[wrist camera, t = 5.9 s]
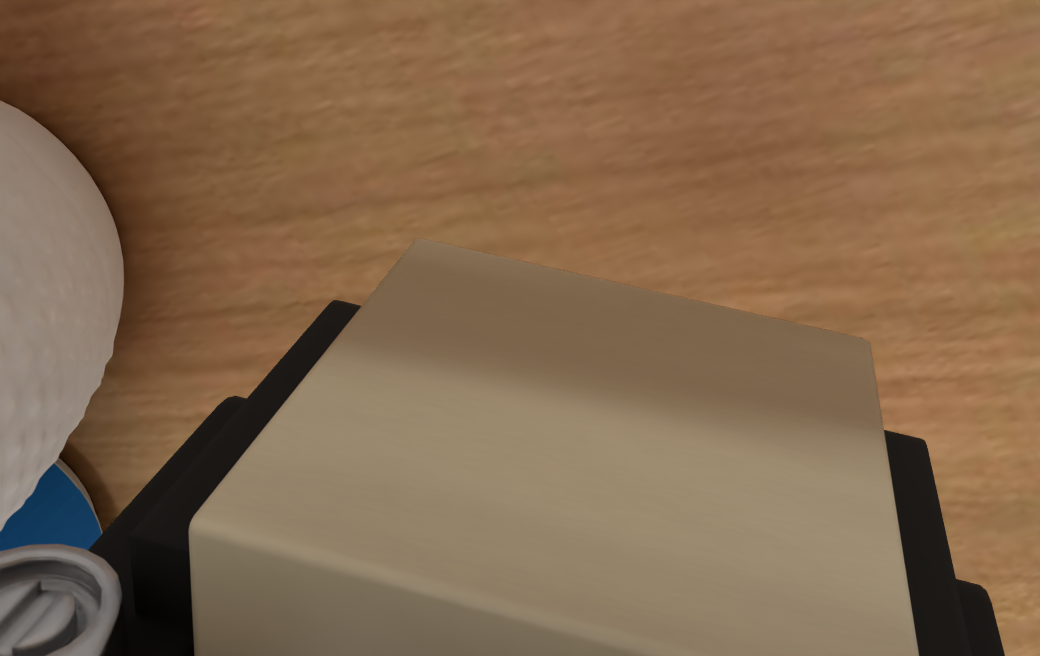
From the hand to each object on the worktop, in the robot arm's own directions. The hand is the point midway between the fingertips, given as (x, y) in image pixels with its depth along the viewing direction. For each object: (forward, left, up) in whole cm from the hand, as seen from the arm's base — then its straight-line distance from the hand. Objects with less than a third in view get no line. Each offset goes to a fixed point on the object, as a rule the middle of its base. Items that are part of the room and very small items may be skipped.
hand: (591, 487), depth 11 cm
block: (0, 0, 0) cm, 0 cm away
